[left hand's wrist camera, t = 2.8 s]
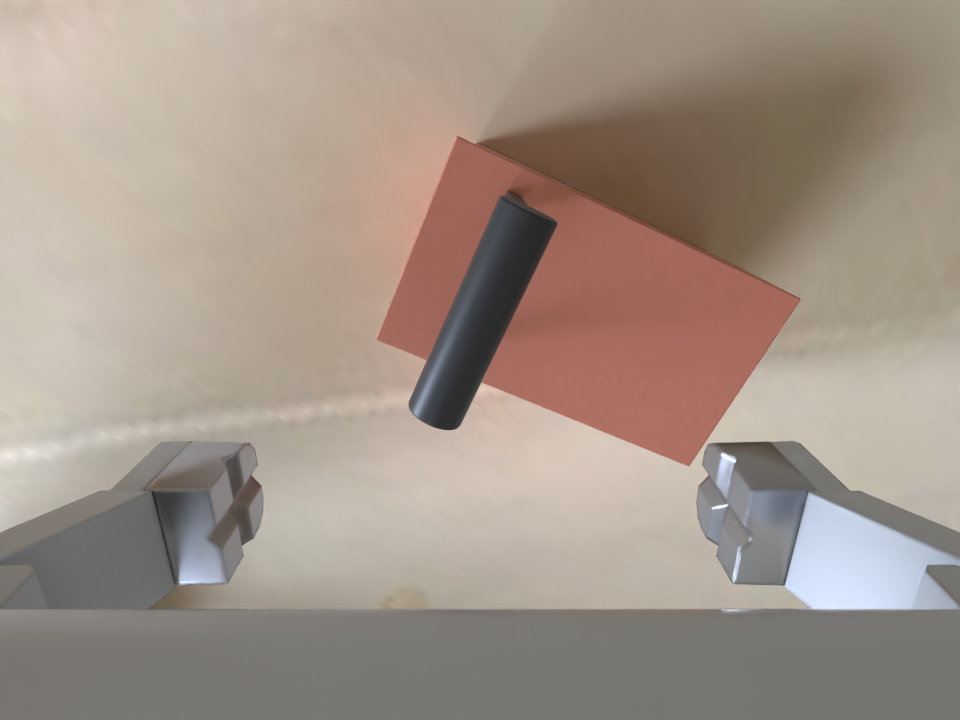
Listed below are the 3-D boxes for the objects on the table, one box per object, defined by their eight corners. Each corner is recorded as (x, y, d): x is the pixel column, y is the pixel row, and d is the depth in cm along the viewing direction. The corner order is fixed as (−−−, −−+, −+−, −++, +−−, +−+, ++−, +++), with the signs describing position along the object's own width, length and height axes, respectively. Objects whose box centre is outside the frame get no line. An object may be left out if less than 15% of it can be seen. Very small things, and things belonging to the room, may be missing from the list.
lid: (378, 332, 28) (336, 416, 19) (457, 135, 25) (446, 135, 16) (682, 456, 30) (759, 577, 22) (790, 293, 27) (927, 362, 19)
